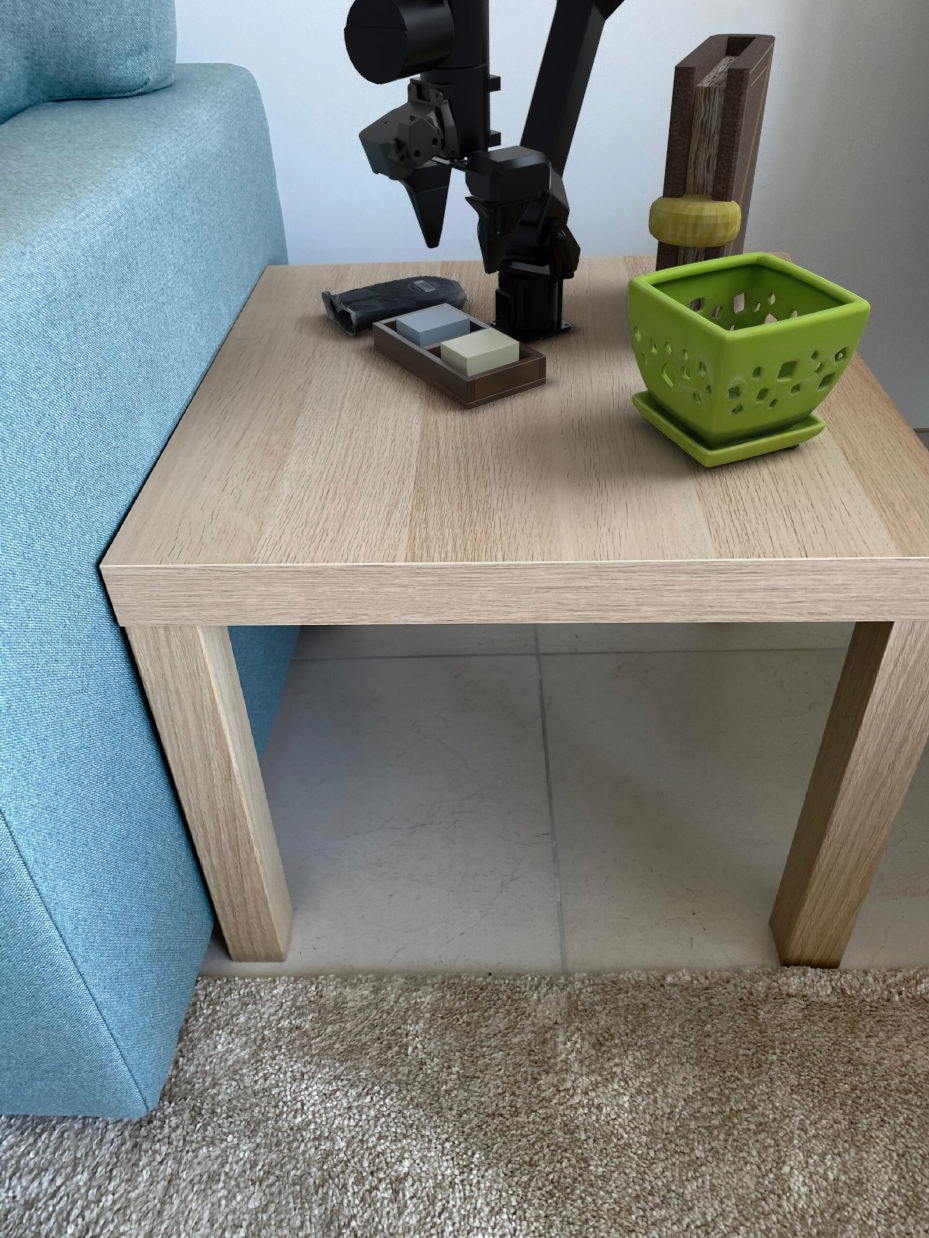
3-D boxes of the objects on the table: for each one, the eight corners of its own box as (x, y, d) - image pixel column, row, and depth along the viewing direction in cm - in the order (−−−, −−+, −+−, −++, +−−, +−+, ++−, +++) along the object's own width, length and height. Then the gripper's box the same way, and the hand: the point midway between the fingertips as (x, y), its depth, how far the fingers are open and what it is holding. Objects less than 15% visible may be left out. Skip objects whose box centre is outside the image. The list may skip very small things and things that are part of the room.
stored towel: (446, 333, 99) (445, 304, 97) (470, 346, 96) (469, 317, 94) (397, 347, 96) (395, 318, 94) (421, 361, 93) (419, 332, 91)
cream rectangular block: (492, 356, 93) (491, 327, 91) (519, 371, 90) (519, 342, 88) (441, 372, 91) (440, 342, 89) (467, 388, 88) (466, 358, 86)
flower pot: (612, 416, 84) (622, 274, 76) (740, 386, 88) (764, 248, 80) (701, 489, 74) (725, 334, 66) (842, 451, 78) (880, 300, 70)
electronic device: (361, 356, 99) (482, 309, 103) (346, 305, 96) (471, 258, 100) (331, 338, 107) (445, 294, 111) (316, 290, 104) (434, 247, 107)
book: (675, 281, 110) (702, 33, 94) (748, 288, 108) (789, 34, 92) (630, 354, 94) (654, 71, 79) (716, 365, 92) (758, 75, 76)
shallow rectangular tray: (447, 328, 101) (446, 302, 100) (546, 383, 90) (546, 355, 88) (374, 349, 97) (371, 323, 96) (467, 409, 86) (467, 381, 84)
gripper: (311, 62, 78) (333, 253, 88) (436, 92, 66) (445, 310, 76) (423, 46, 83) (432, 229, 93) (558, 72, 71) (552, 279, 81)
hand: (461, 260), depth 85 cm, fingers open, 9 cm apart
